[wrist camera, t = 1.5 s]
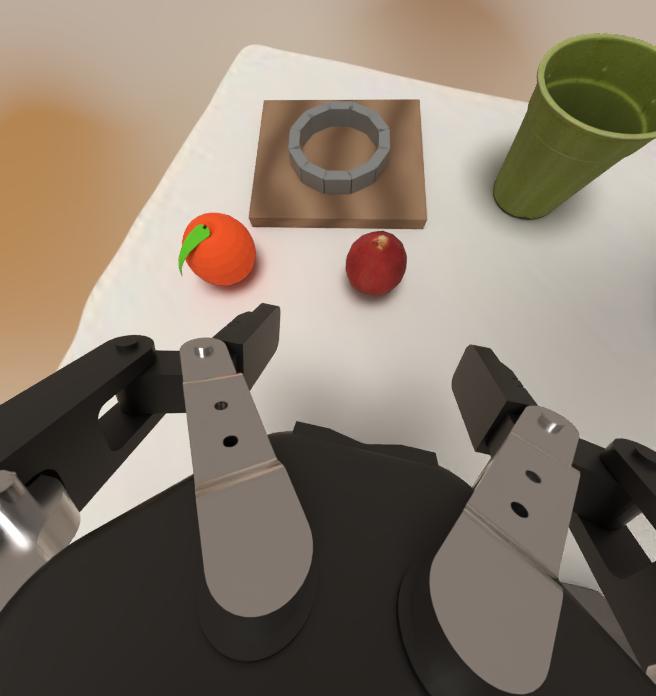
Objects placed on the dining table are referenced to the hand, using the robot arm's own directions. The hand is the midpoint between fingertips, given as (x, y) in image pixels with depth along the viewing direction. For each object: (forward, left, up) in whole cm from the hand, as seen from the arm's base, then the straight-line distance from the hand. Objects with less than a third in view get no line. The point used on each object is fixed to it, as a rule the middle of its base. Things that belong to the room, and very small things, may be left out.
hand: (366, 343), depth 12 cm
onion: (-2, -11, -16) cm, 20 cm away
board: (+2, -27, -16) cm, 32 cm away
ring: (+2, -27, -15) cm, 31 cm away
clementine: (+14, -12, -16) cm, 25 cm away
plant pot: (-20, -23, -16) cm, 35 cm away
